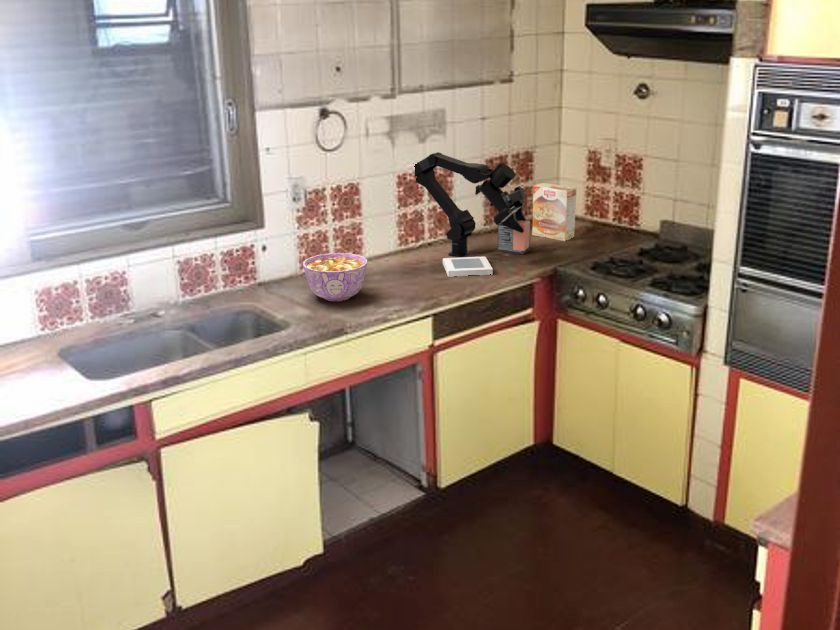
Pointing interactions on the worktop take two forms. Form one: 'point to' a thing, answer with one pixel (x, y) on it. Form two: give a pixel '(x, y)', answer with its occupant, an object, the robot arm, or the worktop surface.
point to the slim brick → (522, 236)
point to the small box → (507, 240)
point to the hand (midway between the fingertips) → (525, 229)
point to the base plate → (467, 266)
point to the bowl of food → (335, 275)
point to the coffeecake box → (554, 211)
